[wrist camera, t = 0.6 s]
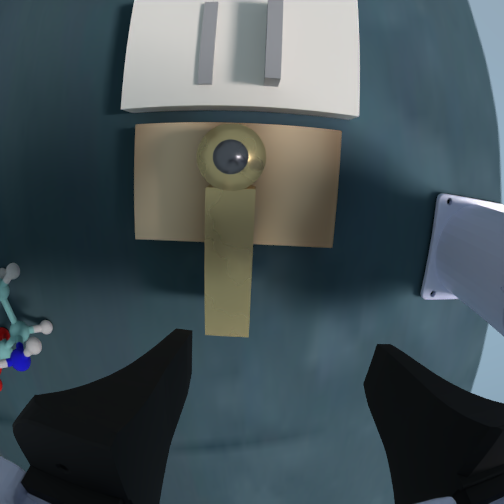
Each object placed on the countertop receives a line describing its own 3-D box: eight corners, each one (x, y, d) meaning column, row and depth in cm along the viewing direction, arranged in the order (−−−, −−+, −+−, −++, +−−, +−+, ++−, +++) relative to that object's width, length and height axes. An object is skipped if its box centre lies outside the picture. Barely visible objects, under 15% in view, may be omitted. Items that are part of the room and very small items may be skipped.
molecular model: (-54, 254, 18) (-84, 339, 11) (34, 235, 22) (26, 320, 15) (-12, 344, 24) (-14, 426, 17) (63, 331, 28) (76, 414, 21)
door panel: (349, 8, 16) (366, -17, 12) (349, 120, 19) (370, 112, 15) (144, 3, 16) (125, -22, 12) (132, 113, 19) (106, 104, 15)
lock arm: (207, 128, 17) (196, 121, 14) (265, 130, 17) (268, 123, 14) (204, 311, 20) (195, 341, 17) (255, 314, 20) (255, 345, 17)
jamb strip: (333, 133, 19) (341, 130, 17) (325, 240, 21) (332, 247, 19) (145, 127, 19) (135, 124, 17) (144, 232, 21) (135, 239, 19)
